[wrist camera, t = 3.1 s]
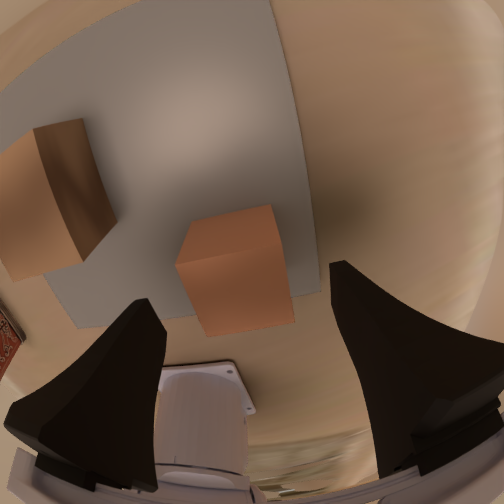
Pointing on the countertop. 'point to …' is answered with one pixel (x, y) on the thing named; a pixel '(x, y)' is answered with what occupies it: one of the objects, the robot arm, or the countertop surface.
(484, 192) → the countertop surface
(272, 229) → the top brick
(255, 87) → the baseplate
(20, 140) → the base brick
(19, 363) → the countertop surface
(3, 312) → the lighter
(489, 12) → the countertop surface
